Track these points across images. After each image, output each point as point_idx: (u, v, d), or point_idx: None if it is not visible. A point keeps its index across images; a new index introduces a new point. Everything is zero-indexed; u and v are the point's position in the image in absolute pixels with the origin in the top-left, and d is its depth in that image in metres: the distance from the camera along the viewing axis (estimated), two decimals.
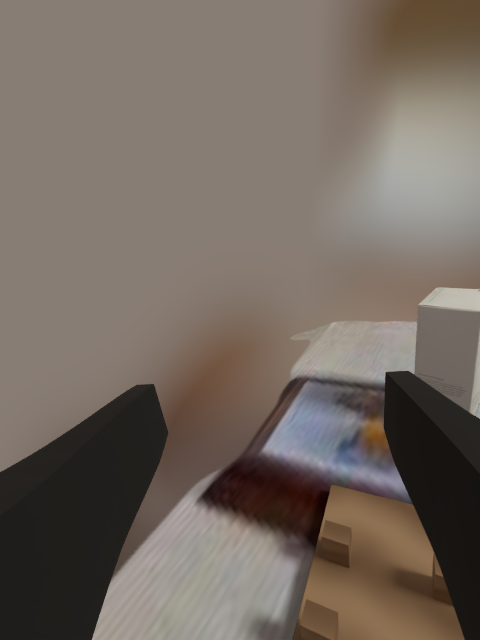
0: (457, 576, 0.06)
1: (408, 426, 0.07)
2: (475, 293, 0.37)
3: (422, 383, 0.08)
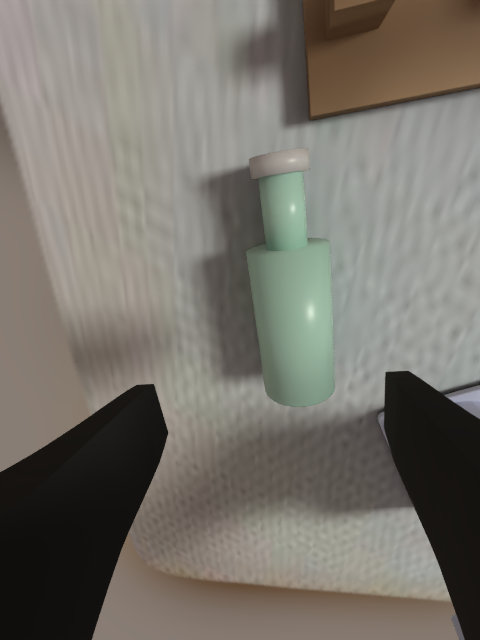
0: (457, 576, 0.06)
1: (408, 426, 0.07)
2: None
3: (422, 383, 0.08)
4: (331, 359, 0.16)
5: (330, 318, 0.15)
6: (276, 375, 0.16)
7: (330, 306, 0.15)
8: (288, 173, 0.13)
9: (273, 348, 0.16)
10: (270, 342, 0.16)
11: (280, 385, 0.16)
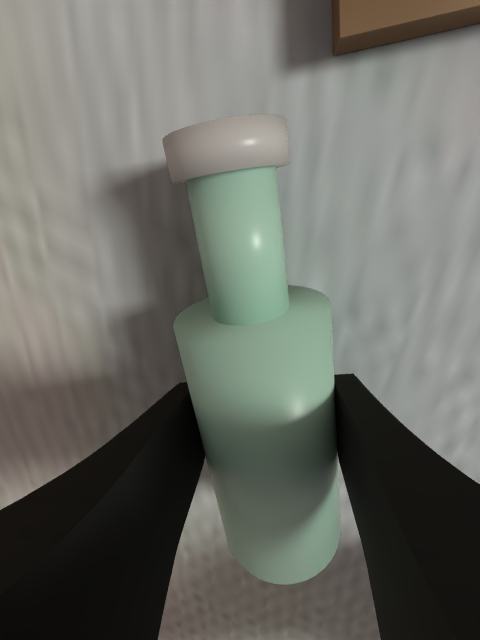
0: (373, 572, 0.06)
1: (343, 428, 0.08)
2: None
3: (359, 386, 0.08)
4: (320, 522, 0.09)
5: (318, 458, 0.08)
6: (222, 514, 0.10)
7: (319, 438, 0.08)
8: (221, 174, 0.06)
9: (212, 477, 0.09)
10: (208, 466, 0.09)
11: (227, 531, 0.10)
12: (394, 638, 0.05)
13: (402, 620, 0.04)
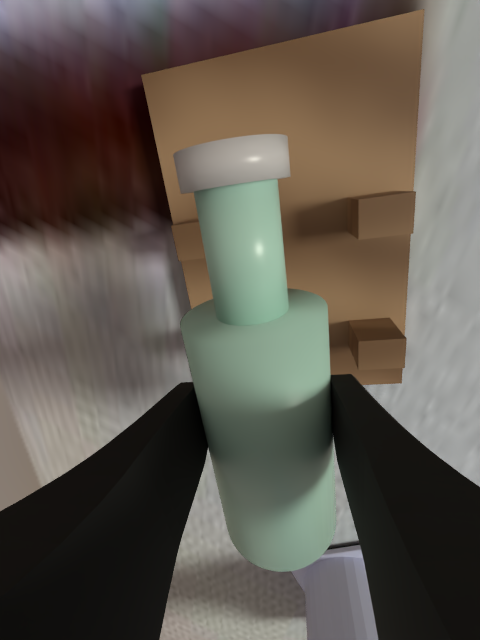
0: (371, 571, 0.06)
1: (341, 427, 0.08)
2: None
3: (357, 385, 0.08)
4: (323, 505, 0.09)
5: (321, 444, 0.09)
6: (228, 511, 0.10)
7: (322, 425, 0.08)
8: (234, 186, 0.07)
9: (220, 475, 0.09)
10: (215, 465, 0.09)
11: (234, 527, 0.10)
12: (391, 637, 0.05)
13: (398, 619, 0.04)
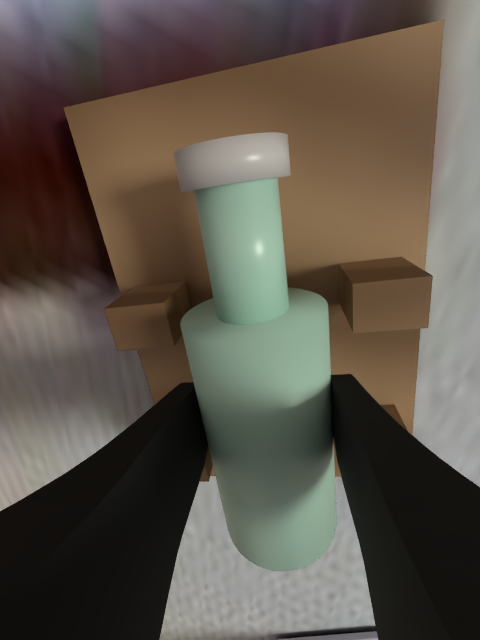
0: (370, 571, 0.06)
1: (341, 428, 0.08)
2: None
3: (357, 386, 0.08)
4: (323, 504, 0.09)
5: (322, 444, 0.09)
6: (228, 511, 0.10)
7: (322, 424, 0.08)
8: (234, 185, 0.07)
9: (220, 474, 0.09)
10: (216, 464, 0.09)
11: (234, 527, 0.10)
12: (390, 637, 0.05)
13: (398, 619, 0.04)
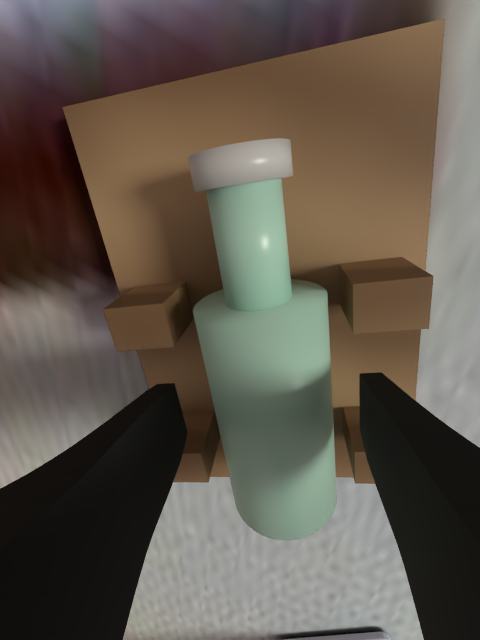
0: (416, 574, 0.06)
1: (377, 427, 0.08)
2: None
3: (391, 384, 0.08)
4: (326, 475, 0.10)
5: (325, 418, 0.09)
6: (239, 488, 0.11)
7: (325, 400, 0.09)
8: (246, 184, 0.07)
9: (232, 453, 0.10)
10: (227, 444, 0.10)
11: (245, 503, 0.11)
12: None
13: (466, 625, 0.04)
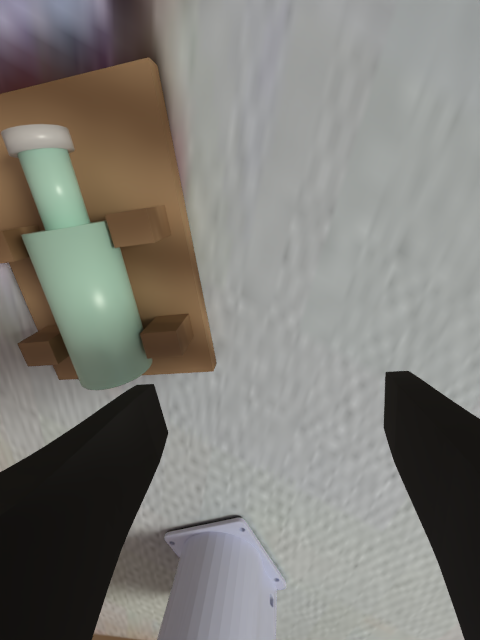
0: (457, 576, 0.06)
1: (408, 426, 0.07)
2: None
3: (422, 383, 0.08)
4: (129, 341, 0.16)
5: (117, 299, 0.15)
6: (72, 358, 0.16)
7: (115, 287, 0.15)
8: (35, 150, 0.13)
9: (61, 330, 0.15)
10: (58, 324, 0.15)
11: (77, 368, 0.16)
12: None
13: None
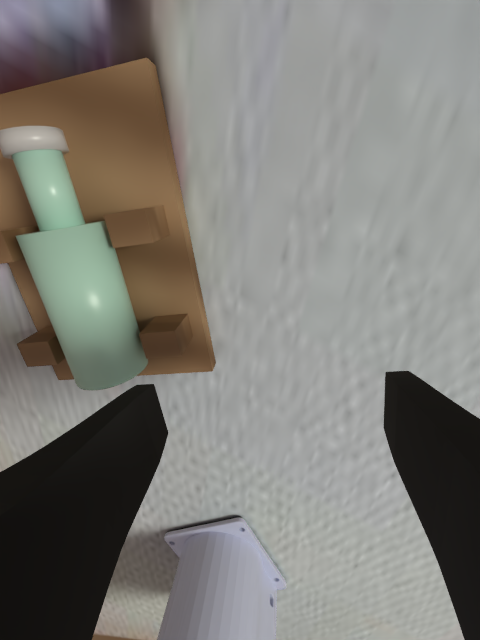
0: (457, 576, 0.06)
1: (408, 426, 0.07)
2: None
3: (422, 382, 0.08)
4: (120, 343, 0.16)
5: (109, 301, 0.15)
6: (66, 357, 0.16)
7: (107, 289, 0.15)
8: (26, 151, 0.13)
9: (55, 330, 0.16)
10: (52, 324, 0.16)
11: (71, 368, 0.16)
12: None
13: None
